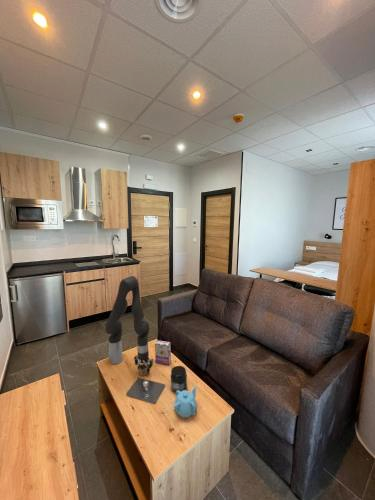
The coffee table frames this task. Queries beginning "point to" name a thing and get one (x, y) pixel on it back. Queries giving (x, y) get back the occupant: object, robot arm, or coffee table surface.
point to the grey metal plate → (146, 390)
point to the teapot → (185, 403)
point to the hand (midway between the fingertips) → (143, 371)
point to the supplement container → (178, 378)
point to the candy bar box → (163, 352)
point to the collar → (143, 370)
